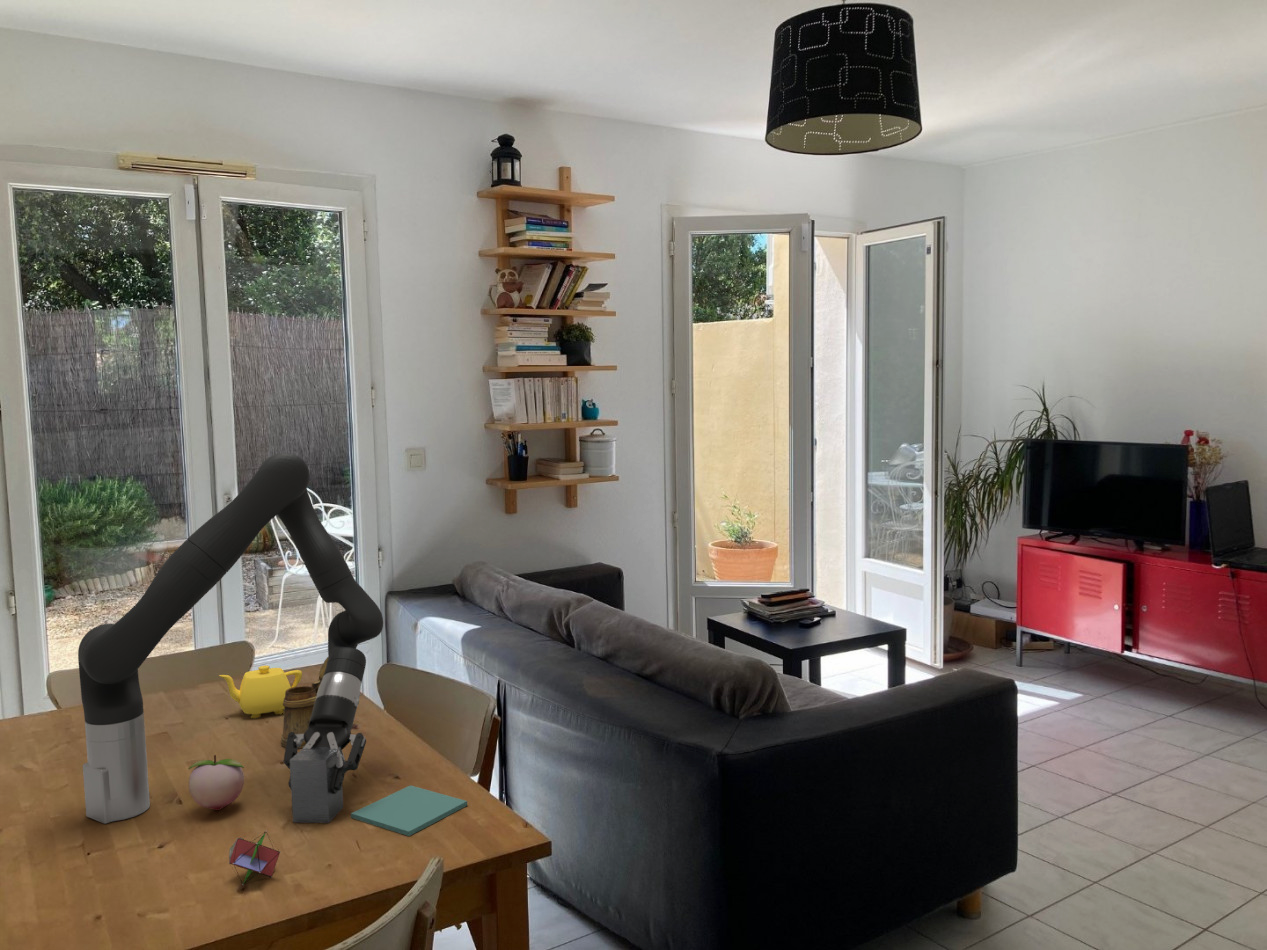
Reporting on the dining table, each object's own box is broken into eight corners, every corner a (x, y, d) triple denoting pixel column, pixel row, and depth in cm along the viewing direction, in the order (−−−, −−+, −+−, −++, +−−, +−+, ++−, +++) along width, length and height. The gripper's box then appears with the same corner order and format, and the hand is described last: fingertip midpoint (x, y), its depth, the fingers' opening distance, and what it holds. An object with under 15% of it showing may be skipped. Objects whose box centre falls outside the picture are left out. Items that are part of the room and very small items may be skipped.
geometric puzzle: (297, 852, 155) (263, 813, 154) (283, 873, 148) (247, 833, 147) (261, 880, 155) (227, 842, 154) (245, 903, 148) (210, 863, 147)
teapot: (223, 725, 221) (220, 678, 220) (219, 711, 231) (217, 666, 230) (307, 712, 229) (305, 667, 228) (300, 699, 239) (298, 655, 238)
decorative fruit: (185, 824, 171) (181, 767, 170) (193, 805, 179) (189, 751, 178) (243, 816, 173) (240, 760, 172) (248, 798, 181) (245, 744, 180)
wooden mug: (352, 736, 212) (348, 654, 211) (289, 752, 204) (284, 666, 202) (336, 726, 219) (332, 646, 218) (274, 740, 211) (270, 657, 209)
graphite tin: (329, 822, 170) (325, 760, 169) (293, 822, 170) (289, 760, 169) (343, 807, 176) (340, 746, 175) (308, 806, 177) (305, 746, 176)
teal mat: (409, 836, 164) (408, 831, 164) (351, 817, 172) (350, 813, 172) (467, 805, 176) (467, 801, 176) (410, 789, 183) (410, 785, 183)
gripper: (291, 693, 180) (265, 782, 169) (368, 693, 178) (347, 783, 168) (305, 712, 185) (280, 799, 175) (380, 712, 184) (360, 800, 173)
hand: (313, 791), depth 171 cm, fingers closed on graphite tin, 6 cm apart
